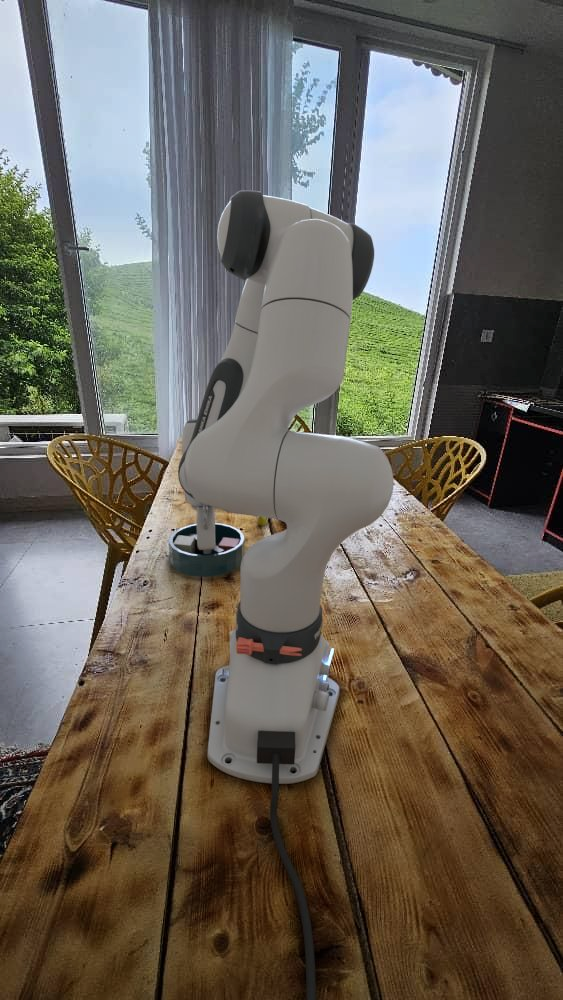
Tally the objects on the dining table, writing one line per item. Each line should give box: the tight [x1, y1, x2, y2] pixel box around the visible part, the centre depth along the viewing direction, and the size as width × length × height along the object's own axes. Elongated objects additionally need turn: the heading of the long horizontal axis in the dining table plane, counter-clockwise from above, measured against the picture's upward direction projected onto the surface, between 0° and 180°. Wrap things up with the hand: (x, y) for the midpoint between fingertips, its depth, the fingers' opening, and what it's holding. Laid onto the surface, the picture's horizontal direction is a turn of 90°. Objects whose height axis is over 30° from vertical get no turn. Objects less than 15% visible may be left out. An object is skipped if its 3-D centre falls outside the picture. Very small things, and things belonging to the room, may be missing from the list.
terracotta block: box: [218, 537, 240, 551], centre depth 101 cm, size 4×4×4 cm
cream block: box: [173, 535, 196, 554], centre depth 101 cm, size 4×4×4 cm
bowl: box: [168, 522, 246, 578], centre depth 101 cm, size 17×17×6 cm
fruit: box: [256, 517, 268, 527], centre depth 120 cm, size 10×2×5 cm, turn 173°
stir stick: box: [188, 533, 225, 555], centre depth 101 cm, size 12×2×3 cm, turn 46°
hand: (207, 548), depth 101 cm, fingers closed on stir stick, 2 cm apart
